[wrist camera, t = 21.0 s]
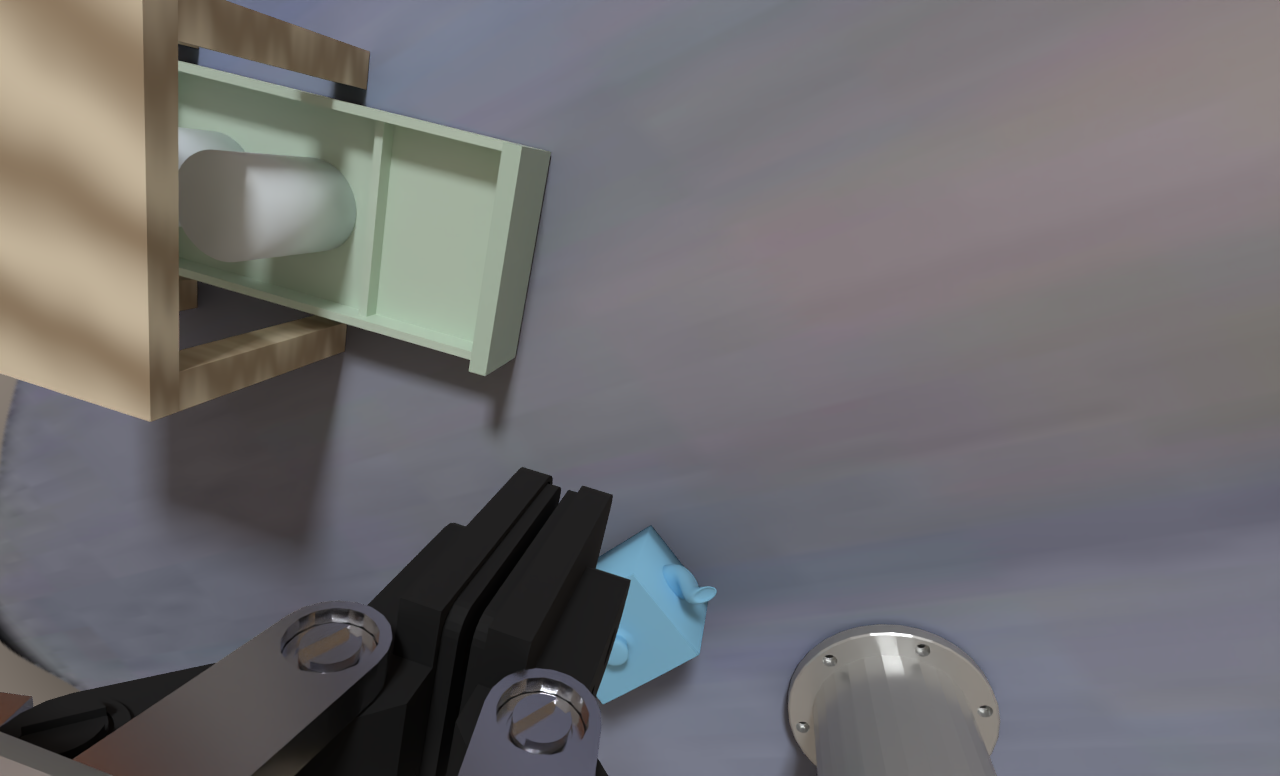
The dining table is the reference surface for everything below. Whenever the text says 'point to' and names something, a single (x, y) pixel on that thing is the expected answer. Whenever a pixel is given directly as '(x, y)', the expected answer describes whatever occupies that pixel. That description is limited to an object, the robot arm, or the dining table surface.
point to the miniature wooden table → (125, 200)
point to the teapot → (652, 614)
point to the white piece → (263, 205)
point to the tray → (386, 217)
